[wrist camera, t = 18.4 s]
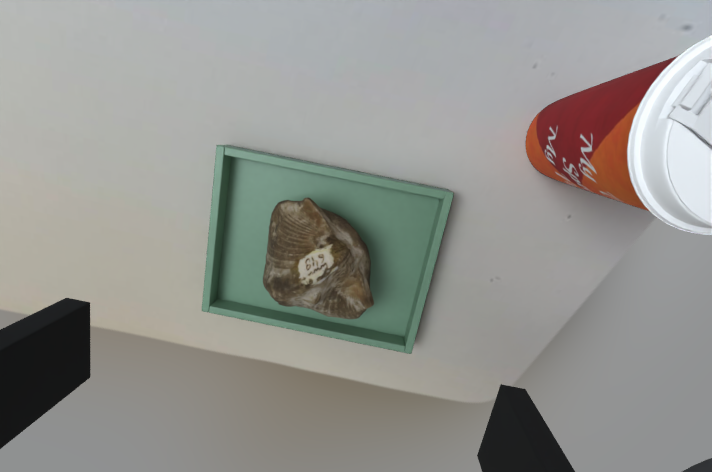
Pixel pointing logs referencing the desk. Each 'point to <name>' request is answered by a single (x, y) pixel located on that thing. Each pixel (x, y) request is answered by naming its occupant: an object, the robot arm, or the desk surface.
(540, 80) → the desk surface
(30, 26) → the desk surface
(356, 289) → the fossilized seashell
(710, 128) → the paper cup
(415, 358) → the desk surface
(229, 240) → the tray
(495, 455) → the robot arm
